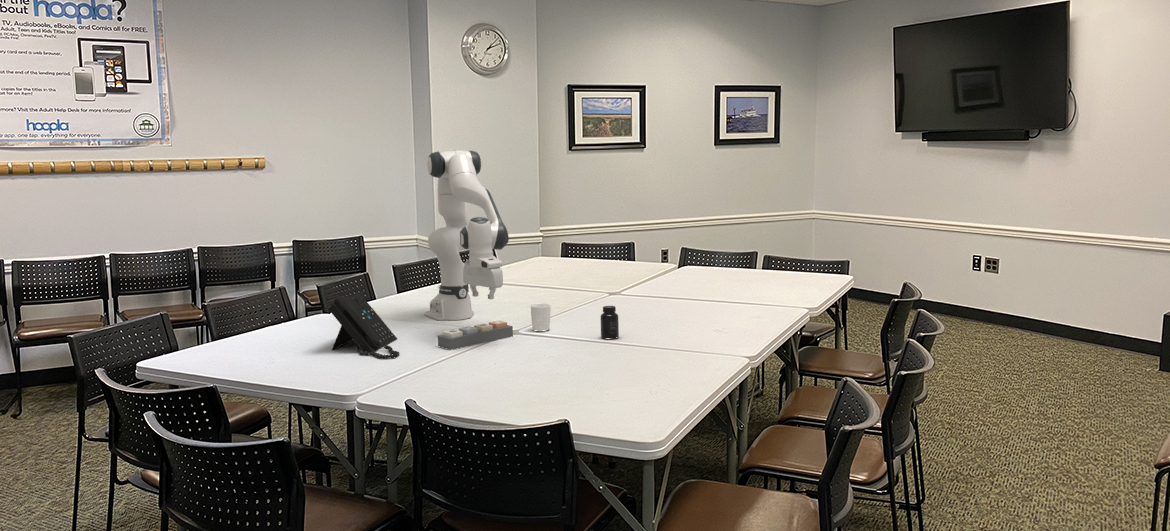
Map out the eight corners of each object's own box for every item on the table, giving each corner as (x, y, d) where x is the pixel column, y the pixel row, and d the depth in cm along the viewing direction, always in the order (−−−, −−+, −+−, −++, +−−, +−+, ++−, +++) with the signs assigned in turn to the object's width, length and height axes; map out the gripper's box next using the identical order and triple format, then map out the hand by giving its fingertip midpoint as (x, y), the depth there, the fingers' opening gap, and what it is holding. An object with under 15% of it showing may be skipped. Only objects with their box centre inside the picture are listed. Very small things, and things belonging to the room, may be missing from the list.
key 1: (443, 338, 308) (443, 331, 307) (454, 336, 311) (454, 329, 311) (451, 340, 304) (451, 333, 304) (462, 338, 308) (462, 331, 307)
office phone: (393, 360, 290) (391, 303, 287) (318, 357, 295) (314, 301, 292) (425, 340, 318) (423, 288, 315) (355, 338, 324) (353, 286, 321)
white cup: (550, 332, 329) (549, 307, 327) (530, 332, 329) (529, 307, 328) (551, 327, 337) (551, 303, 335) (531, 328, 337) (531, 303, 335)
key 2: (459, 335, 313) (458, 328, 312) (469, 332, 316) (469, 325, 316) (467, 337, 309) (466, 330, 309) (478, 334, 313) (477, 327, 312)
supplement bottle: (619, 335, 322) (619, 304, 320) (618, 339, 315) (618, 308, 313) (601, 335, 322) (601, 304, 321) (600, 339, 316) (599, 308, 314)
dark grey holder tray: (438, 346, 308) (437, 335, 308) (499, 333, 328) (499, 323, 328) (450, 349, 303) (450, 339, 302) (512, 336, 323) (512, 326, 322)
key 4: (488, 328, 322) (488, 322, 322) (498, 326, 326) (498, 320, 326) (496, 330, 319) (496, 324, 319) (507, 328, 322) (507, 321, 322)
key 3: (474, 331, 318) (473, 325, 317) (484, 329, 321) (484, 322, 321) (482, 333, 314) (482, 327, 314) (492, 331, 318) (492, 324, 317)
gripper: (458, 260, 319) (459, 296, 321) (491, 264, 304) (493, 301, 306) (471, 258, 323) (473, 293, 325) (505, 262, 309) (506, 299, 311)
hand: (483, 297), depth 316 cm, fingers open, 8 cm apart
